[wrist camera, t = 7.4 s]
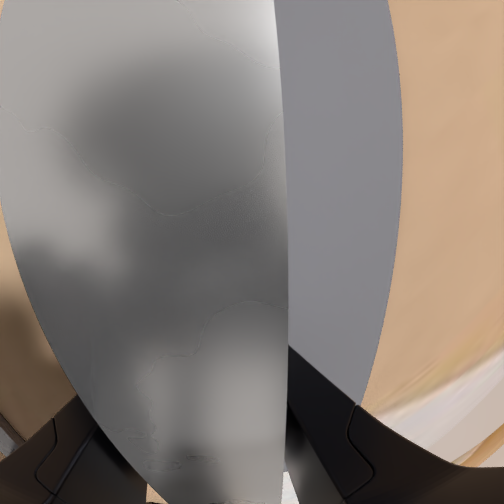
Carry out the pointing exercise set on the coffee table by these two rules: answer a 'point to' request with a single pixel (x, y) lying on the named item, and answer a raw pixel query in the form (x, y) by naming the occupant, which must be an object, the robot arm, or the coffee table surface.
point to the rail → (156, 227)
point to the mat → (340, 179)
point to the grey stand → (8, 438)
